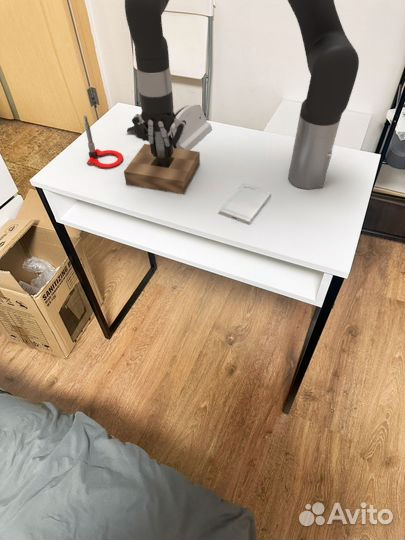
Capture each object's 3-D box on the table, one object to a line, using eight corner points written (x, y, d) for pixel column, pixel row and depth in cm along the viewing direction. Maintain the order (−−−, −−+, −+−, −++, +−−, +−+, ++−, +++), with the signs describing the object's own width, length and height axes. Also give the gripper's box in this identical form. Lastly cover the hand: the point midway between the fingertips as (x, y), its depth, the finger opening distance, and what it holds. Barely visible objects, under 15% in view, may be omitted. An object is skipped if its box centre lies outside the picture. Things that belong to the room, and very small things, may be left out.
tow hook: (127, 155, 110) (97, 151, 110) (121, 112, 100) (88, 108, 101) (117, 172, 104) (85, 167, 105) (110, 128, 94) (75, 123, 95)
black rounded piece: (143, 125, 121) (142, 116, 119) (165, 135, 117) (164, 126, 114) (125, 134, 117) (123, 125, 115) (147, 145, 113) (146, 136, 111)
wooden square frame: (199, 164, 105) (199, 151, 102) (184, 194, 96) (183, 181, 93) (146, 156, 108) (144, 143, 105) (126, 184, 99) (123, 171, 96)
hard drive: (242, 183, 97) (218, 210, 90) (271, 193, 95) (249, 221, 88) (241, 188, 99) (218, 215, 92) (270, 198, 96) (249, 226, 89)
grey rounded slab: (185, 154, 109) (173, 120, 103) (172, 155, 111) (160, 122, 105) (213, 129, 118) (203, 96, 112) (200, 130, 121) (190, 99, 115)
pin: (170, 166, 101) (167, 127, 93) (167, 172, 100) (163, 133, 91) (160, 164, 102) (156, 125, 94) (156, 170, 100) (151, 131, 92)
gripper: (190, 84, 86) (192, 152, 99) (133, 78, 89) (142, 145, 102) (179, 99, 81) (183, 168, 94) (120, 91, 84) (131, 160, 97)
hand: (162, 156), depth 98 cm, fingers closed on pin, 3 cm apart
